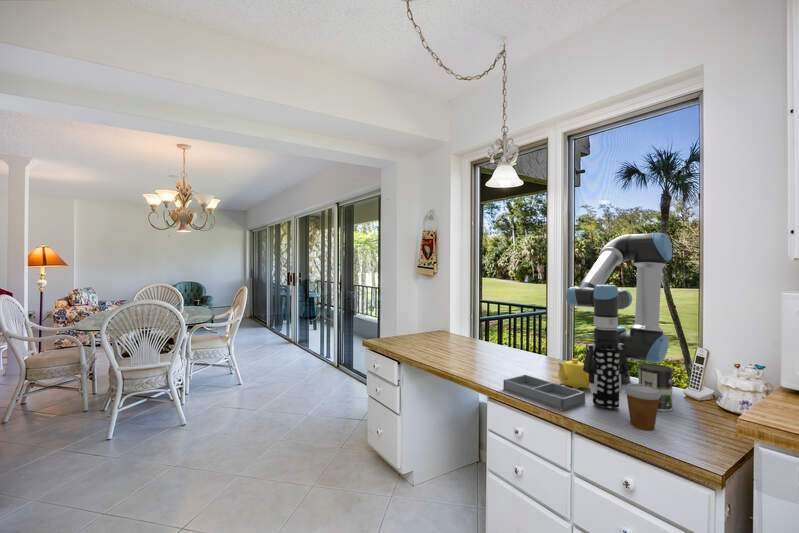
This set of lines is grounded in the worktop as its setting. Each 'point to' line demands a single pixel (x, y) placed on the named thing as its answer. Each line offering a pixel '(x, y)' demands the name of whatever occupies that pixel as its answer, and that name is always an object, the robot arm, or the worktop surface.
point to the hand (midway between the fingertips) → (605, 391)
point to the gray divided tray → (545, 392)
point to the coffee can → (658, 382)
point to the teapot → (573, 374)
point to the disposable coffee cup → (642, 405)
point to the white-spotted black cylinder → (607, 378)
